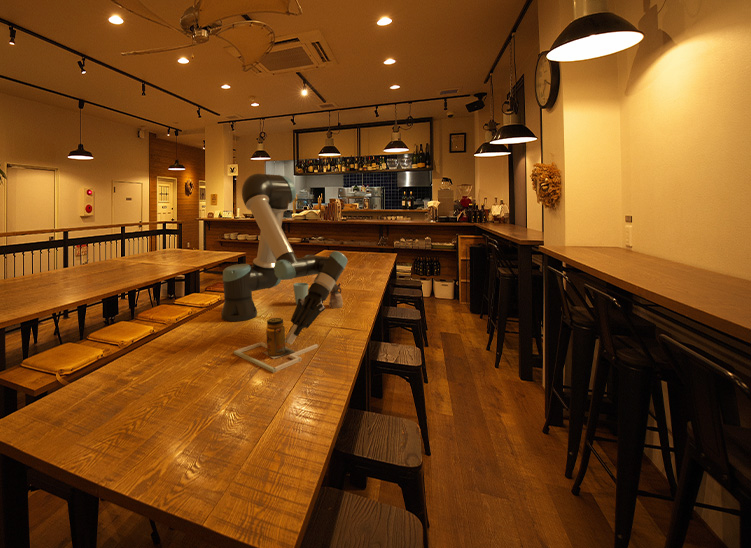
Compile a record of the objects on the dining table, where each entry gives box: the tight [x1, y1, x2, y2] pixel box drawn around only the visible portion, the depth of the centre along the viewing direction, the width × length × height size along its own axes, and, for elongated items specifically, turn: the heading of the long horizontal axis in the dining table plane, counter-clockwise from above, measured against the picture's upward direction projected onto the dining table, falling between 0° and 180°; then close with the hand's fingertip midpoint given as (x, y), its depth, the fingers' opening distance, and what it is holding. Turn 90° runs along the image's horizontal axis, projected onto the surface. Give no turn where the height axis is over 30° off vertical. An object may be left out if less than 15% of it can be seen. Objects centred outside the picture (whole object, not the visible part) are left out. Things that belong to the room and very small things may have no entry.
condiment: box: [262, 317, 296, 360], centre depth 120 cm, size 7×8×12 cm
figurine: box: [328, 282, 344, 309], centre depth 177 cm, size 7×7×12 cm
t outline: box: [233, 341, 319, 374], centre depth 121 cm, size 22×22×1 cm
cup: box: [292, 282, 309, 305], centre depth 181 cm, size 8×8×10 cm
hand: (288, 342), depth 123 cm, fingers closed
